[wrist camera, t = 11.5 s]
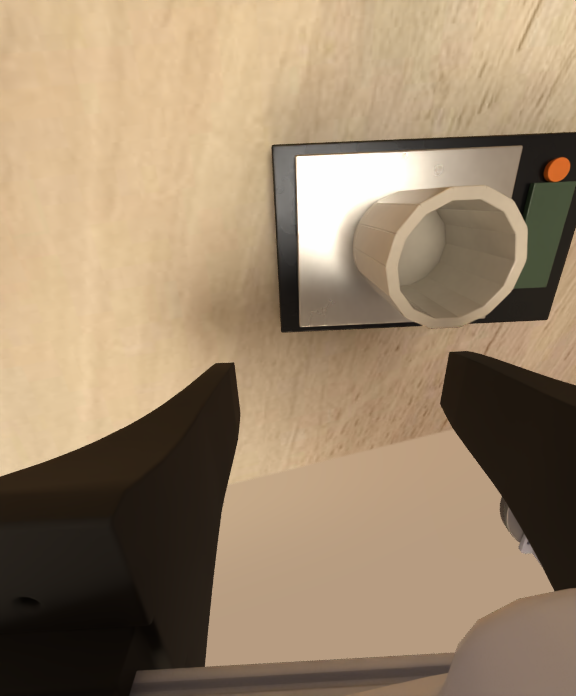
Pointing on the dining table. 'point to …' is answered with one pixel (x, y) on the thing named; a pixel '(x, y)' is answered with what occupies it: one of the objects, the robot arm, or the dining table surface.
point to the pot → (442, 252)
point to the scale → (399, 175)
